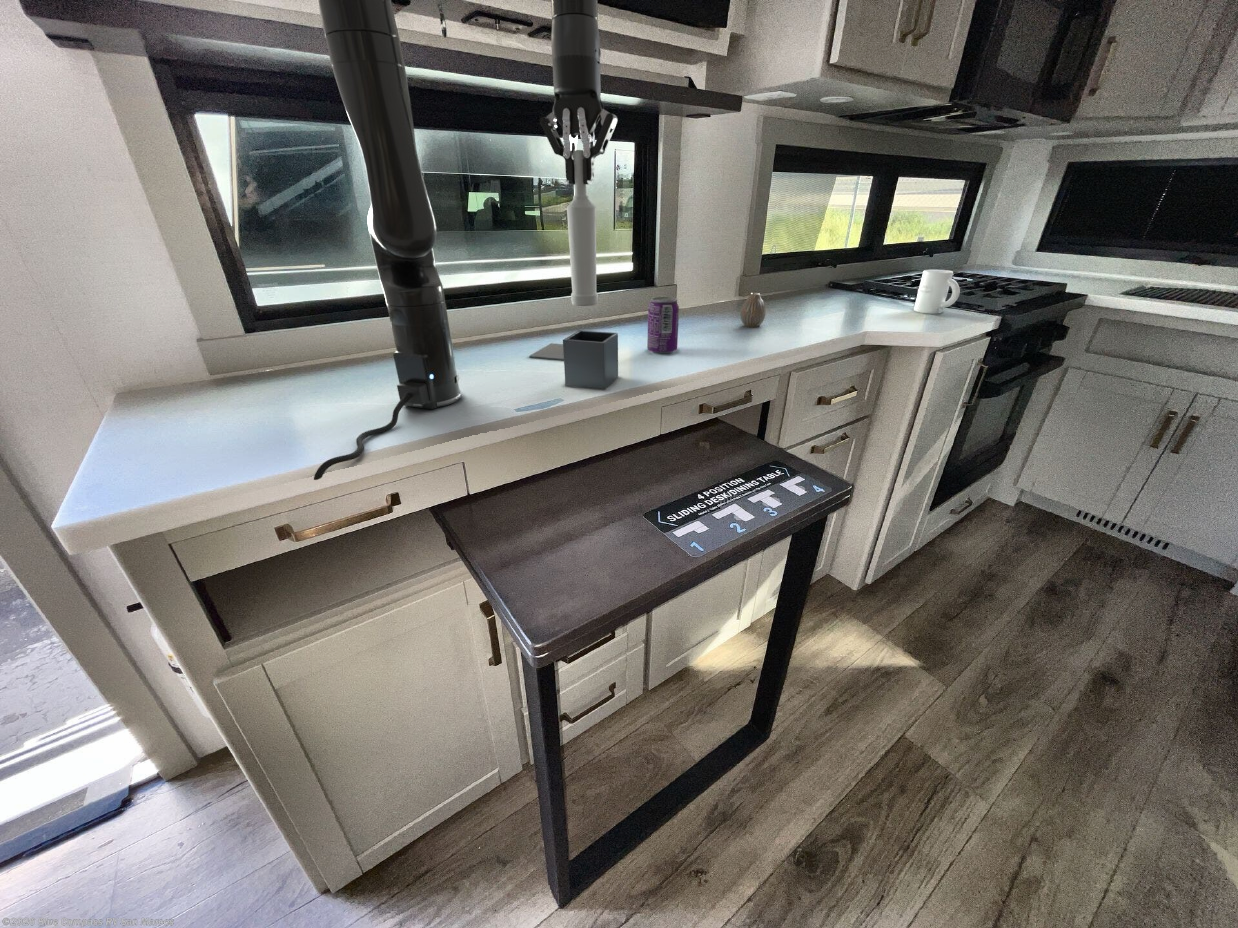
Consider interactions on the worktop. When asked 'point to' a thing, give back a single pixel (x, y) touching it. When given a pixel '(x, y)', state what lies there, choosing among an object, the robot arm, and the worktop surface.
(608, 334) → the caddy
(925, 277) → the mug
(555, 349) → the coaster
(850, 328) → the worktop surface
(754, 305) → the vase
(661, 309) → the beverage can
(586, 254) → the bottle
